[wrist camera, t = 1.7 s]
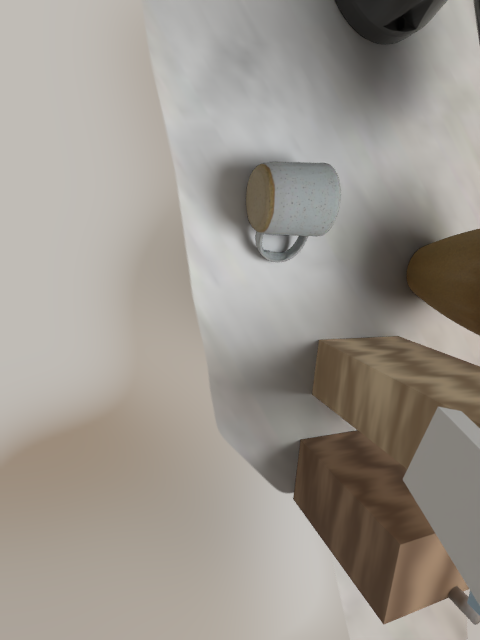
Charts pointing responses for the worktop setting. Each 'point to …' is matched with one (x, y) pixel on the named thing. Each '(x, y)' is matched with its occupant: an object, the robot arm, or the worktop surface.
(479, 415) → the stand
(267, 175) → the grey short cylinder
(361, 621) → the worktop surface
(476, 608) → the blue-grey block
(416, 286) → the plant pot
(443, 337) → the worktop surface
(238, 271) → the worktop surface
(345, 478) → the wooden block with pegs
